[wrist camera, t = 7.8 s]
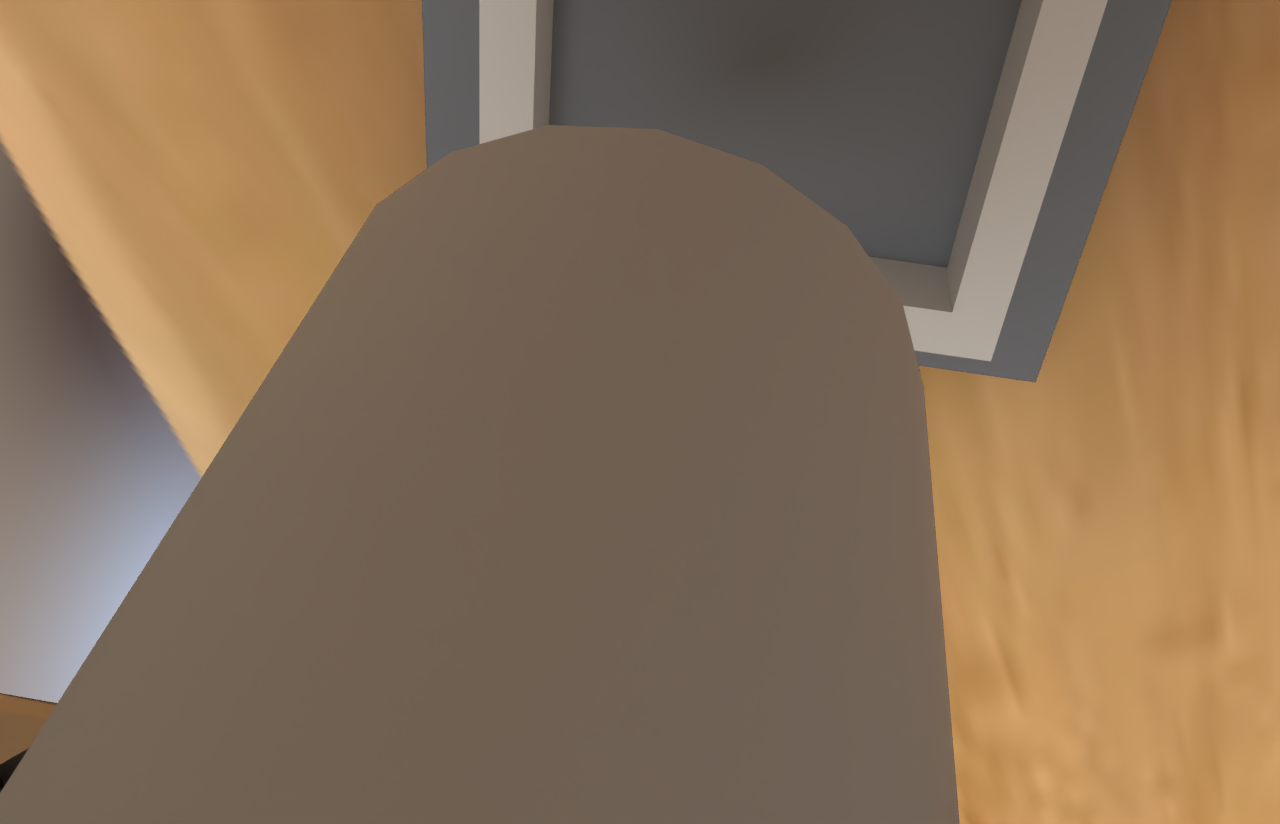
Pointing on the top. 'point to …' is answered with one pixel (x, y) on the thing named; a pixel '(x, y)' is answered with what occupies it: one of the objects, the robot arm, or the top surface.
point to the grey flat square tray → (847, 125)
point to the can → (546, 529)
